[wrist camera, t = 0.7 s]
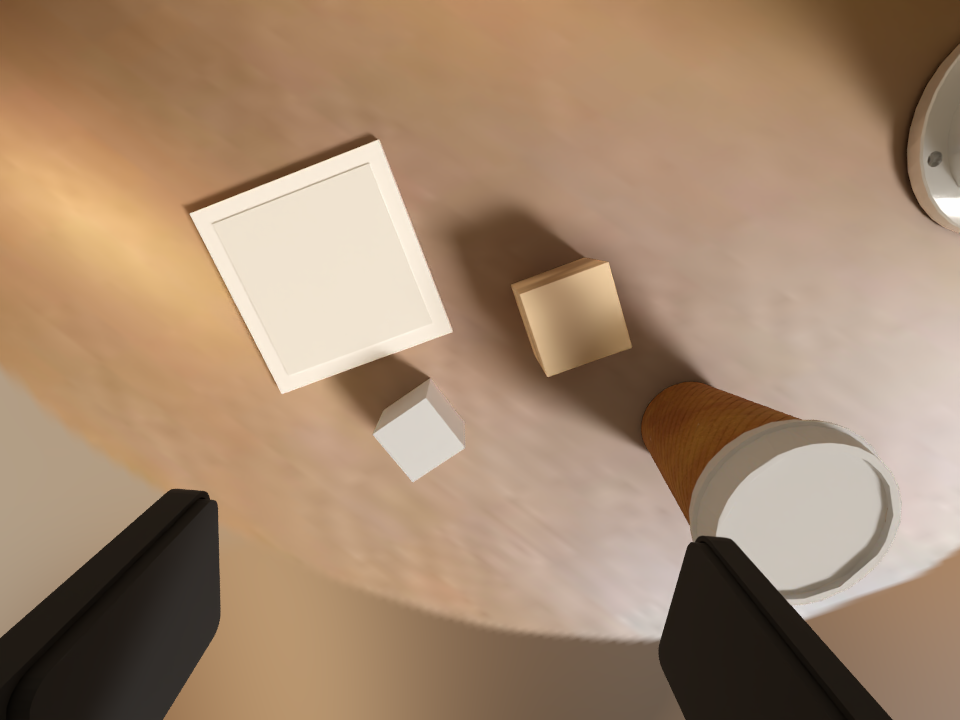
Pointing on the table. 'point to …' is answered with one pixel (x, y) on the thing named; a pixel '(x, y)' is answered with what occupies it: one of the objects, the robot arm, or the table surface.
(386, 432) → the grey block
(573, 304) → the oak cube
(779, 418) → the disposable coffee cup
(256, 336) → the tray
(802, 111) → the table surface
